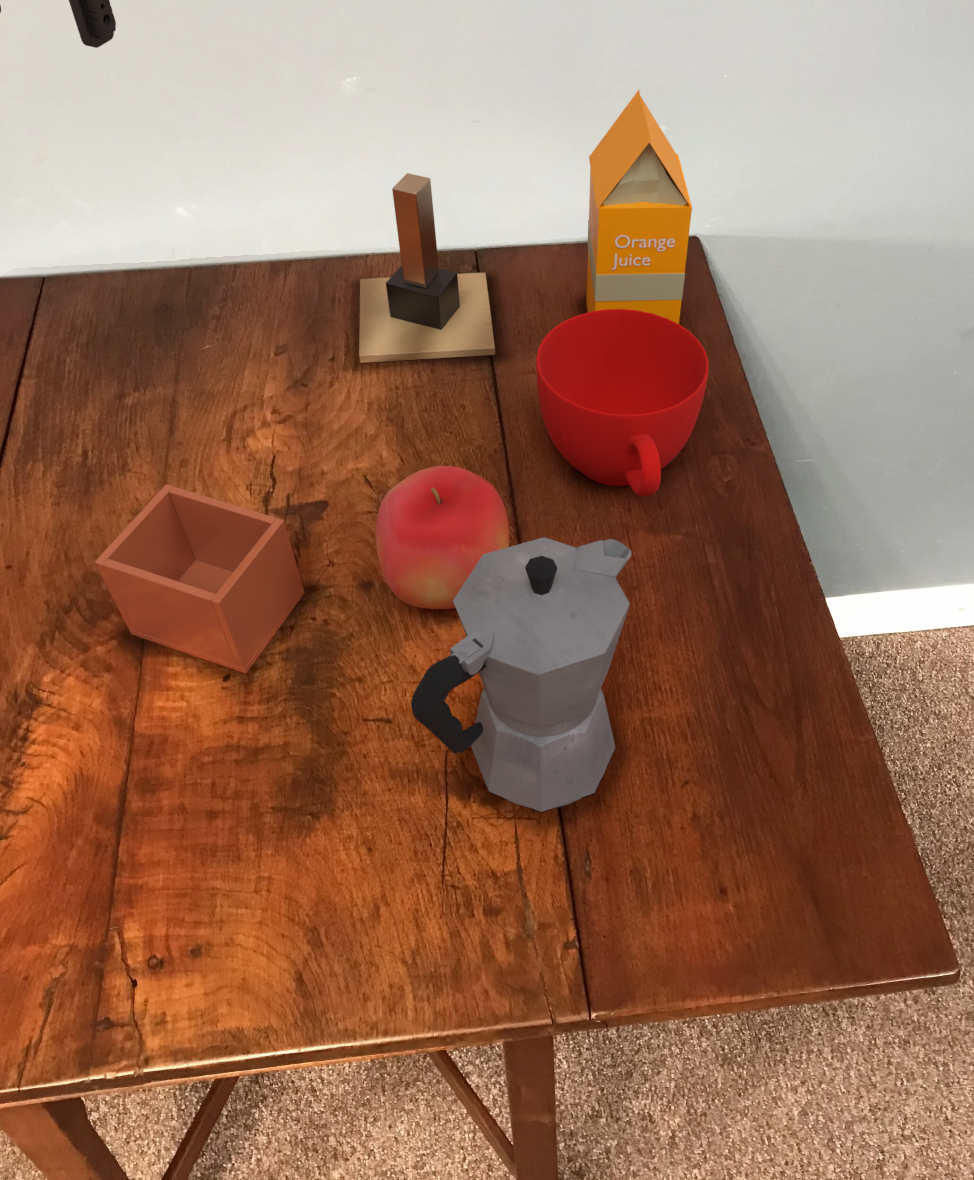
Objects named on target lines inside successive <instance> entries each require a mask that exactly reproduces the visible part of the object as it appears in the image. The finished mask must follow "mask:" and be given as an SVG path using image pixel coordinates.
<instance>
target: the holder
mask: <svg viewBox="0 0 974 1180" xmlns="http://www.w3.org/2000/svg"><path fill="white" fill-rule="evenodd" d="M94 564H95V566H96V568H97V570H98V572H99V574H100V576H101V578H102V581H103V582H104V584H105V587H106V588H107V591H108V592H109V595H110V596H111V597H112V599H113V601H114V603H115V606H116V607H117V609H118V611H119V613H120V615H121V617H122V619H123V621H124V623H125V625H126V627H127V628H128V630H129V633H130V634H131V635H132V636H134V637H138V638H140V639H144V640H147V641H150V642H152V643H156V644H158V645H161V646H164V647H166V648H167V647H168V648H170V649H173V650H176V651H179V652H182V653H185V654H187V655H190V656H194V657H195V658H199V659H202V660H205V661H207V662H211V663H214V664H216V665H220V666H222V667H225V668H228V669H231V670H234V671H237V672H240V673H242V674H248V672H249V671H250V669H251V668H252V667H253V666H254V664H255V663H256V661H257V660H258V659H259V657H260V656H261V654H262V653H263V652H264V650H265V649H266V648H267V646H268V645H269V643H270V642H271V640H272V639H273V638H274V636H275V635H276V633H277V632H278V631H279V629H280V628H281V626H282V625H283V624H284V623H285V621H286V620H287V619H288V617H289V615H290V614H291V612H292V611H293V610H294V609H295V608H296V606H297V605H298V603H299V602H300V600H301V599H302V598H303V596H304V595H305V593H306V592H305V589H304V585H303V582H302V578H301V575H300V572H299V571H300V570H299V568H298V564H297V561H296V558H295V554H294V550H293V547H292V543H291V540H290V537H289V532H288V530H287V525H286V523H285V520H284V519H283V518H279V517H275V516H272V515H269V514H265V513H262V512H259V511H255V510H252V509H249V508H246V507H243V506H239V505H236V504H233V503H230V502H226V501H224V500H220V499H216V498H213V497H210V496H208V495H207V496H206V495H204V494H200V493H197V492H194V491H191V490H188V489H183V488H180V487H177V486H173V485H171V484H168V483H165V485H163V486H162V488H161V489H159V491H158V492H157V493H156V494H155V495H154V497H153V498H152V499H151V500H150V501H149V502H148V503H147V504H146V505H145V506H144V507H143V508H142V510H141V511H139V513H138V514H137V515H135V517H134V518H133V519H132V520H131V522H130V523H128V525H127V526H126V527H125V528H124V529H123V530H122V531H121V532H120V533H119V534H118V535H117V537H115V539H114V540H113V541H112V542H111V543H110V544H109V545H107V547H106V549H104V551H103V552H102V553H101V554H100V555H99V556H98V557H97V558H96V559H95V560H94Z"/></svg>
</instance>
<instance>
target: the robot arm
mask: <svg viewBox="0 0 974 1180" xmlns="http://www.w3.org/2000/svg"><path fill="white" fill-rule="evenodd" d="M68 2H69V5H70V9H71V12H72V15H73V18H74V21H75V24H76V27H77V31H78V34H79V37H80V40H81V42H82V44H83V45H84V46H86V47H91V48H97V49H98V48H99V47H101V46H104V45H105V44H107V43H108V42H110V41H111V40H113V38H114V35H115V32H116V30H117V26H116V25H117V22H116V17H115V14H114V12H113V8H112V6H111V2H110V0H68ZM1 13H2V6H1V5H0V14H1Z"/></svg>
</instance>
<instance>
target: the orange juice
mask: <svg viewBox="0 0 974 1180" xmlns="http://www.w3.org/2000/svg"><path fill="white" fill-rule="evenodd" d="M588 159H589V160H588V162H589V198H588V199H589V200H588V220H587V221H588V222H587V263H586V264H587V269H586V297H585V299H586V301H585V302H586V311H587V313H588V312H592V311H598V310H605V309H627V310H638V311H643V312H648V313H653V314H656V315H659V316H662V317H665V318H667V319H669V320H671V321H673V322H675V323H677V324H679V325H680V319H681V310H682V309H681V308H682V300H683V296H684V295H683V294H684V289H685V287H684V285H685V278H686V264H687V257H688V247H689V238H690V229H691V220H692V211H693V206H692V202H691V198H690V195H689V194H690V193H689V191H688V187H687V183H686V180H685V179H686V178H685V176H684V172H683V171H684V170H683V168H682V164H681V160H680V156H679V153H676V151H675V150H674V148H673V146H672V144H671V143H670V140H668V138H667V136H666V135H665V133H664V132H663V129H662V128H661V126H660V125H659V124H658V121H657V120H656V118H655V117H654V115H653V113H652V112H651V111H650V109H649V107H648V106H647V104H646V102H645V101H644V99H643V97H642V96H641V92H640V89H638V90H636V93H635V94H634V95H633V96H632V98H631V99H630V101H629V102H628V103H627V104H626V106H625V108H624V109H623V110H622V111H621V113H620V114H619V116H618V117H617V118H616V119H615V121H614V122H613V124H612V125H611V127H609V128H608V130H607V132H606V133H605V135H604V136H603V137H602V138H601V140H600V141H599V142H598V144H597V145H596V147H594V149H593V151H592V152H591V153H590V155H589V156H588Z"/></svg>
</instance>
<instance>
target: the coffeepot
mask: <svg viewBox="0 0 974 1180" xmlns="http://www.w3.org/2000/svg"><path fill="white" fill-rule="evenodd" d="M631 556H632V550H631V549H630V548H629V547H628V546H626V545H625V544H623V542H621V541H618V540H616V539H613V538H608V539H605V540H603V539H600V540H595V541H594V542H593V541H592V542H590V543H586V544H583V545H580V546H572V545H569V544H566V543H564V542H560V541H557V540H554V539H551V538H548V537H546V536H545V537H544V536H543V537H540V538H537V539H533V540H529V541H526V542H522V543H518V544H515V545H512V546H509V547H508V548H504V549H500V550H497V551H493V552H490V553H486V554H483V555H482V557H481V558H480V560H479V562H478V563H477V565H476V566H475V568H474V569H473V571H472V572H471V574H470V575H469V577H468V578H467V580H466V581H465V583H464V584H463V586H462V588H461V589H460V591H459V592H458V594H457V595H456V597H455V598H454V600H453V603H454V605H455V608H454V609H455V610H456V612H457V615H458V618H459V620H460V621H459V622H460V623H461V627H462V629H463V632H464V635H465V637H464V638H463V639H462V640H460V641H459V642H457V643H456V644H454V645H453V646H451V647H450V648H449V650H450V655H448V656H446V657H444V658H442V659H440V660H438V661H436V662H435V663H433V664H431V665H430V666H429V667H428V668H427V669H426V671H425V673H424V675H422V678H421V680H420V681H419V683H418V685H417V687H416V688H415V690H414V692H413V694H412V696H411V701H410V707H411V713H412V715H413V717H414V719H416V721H418V722H419V723H420V724H421V725H422V726H424V727H425V728H426V729H427V730H428V731H429V732H430V733H431V734H433V735H434V736H435V737H436V738H437V739H438V740H439V741H440V742H441V743H442V744H443V745H444V746H445V747H447V749H448V750H449V751H451V752H452V753H453V754H463V752H465V751H466V750H468V749H469V748H470V747H471V750H472V752H473V755H474V757H475V758H474V759H475V760H476V763H477V766H478V769H479V771H480V774H481V775H482V777H483V780H484V783H485V786H486V788H487V790H488V792H489V793H491V794H493V795H496V796H498V797H500V798H502V799H504V800H506V801H508V802H510V803H511V804H515V805H517V806H521V807H524V808H527V809H532V810H535V811H537V812H540V813H542V812H547V811H549V810H552V809H557V808H560V807H565V806H569V805H571V804H572V803H574V802H578V801H579V800H581V799H583V798H584V797H587V796H589V795H593V794H595V793H596V791H597V788H598V786H599V784H600V782H601V780H602V778H603V777H604V775H605V773H606V770H607V767H608V765H609V763H610V760H611V758H612V756H613V754H614V752H615V750H616V744H615V743H616V742H615V739H614V735H613V731H612V726H611V721H610V717H609V712H608V708H607V704H606V698H605V695H604V692H603V690H602V686H603V684H604V682H605V679H606V677H607V675H608V673H609V670H610V667H611V664H612V661H613V658H614V655H615V651H616V649H617V646H618V642H619V639H620V636H621V633H622V630H623V627H624V624H625V620H626V617H627V615H628V612H629V608H630V605H631V603H630V601H629V599H628V598H627V596H626V594H625V592H624V590H623V589H622V587H621V585H620V584H619V581H618V580H617V577H618V575H619V574H620V573H621V572H622V569H623V568H624V567H625V566H626V564H627V563H628V561H629V560H630V558H631ZM476 675H479V679H480V680H481V683H482V685H483V689H482V691H481V693H480V698H479V703H478V708H477V714H476V718H475V723H473V724H472V725H470V726H469V727H466V728H464V729H463V724H462V721H461V720H460V719H458V717H456V716H455V715H453V713H452V711H451V708H450V705H449V704H448V703H447V702H446V699H447V697H448V695H449V694H450V692H451V691H452V690H454V689H456V688H457V687H459V686H460V685H462V684H464V683H466V682H467V681H468V680H471V679H472V678H473V677H475V676H476Z"/></svg>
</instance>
